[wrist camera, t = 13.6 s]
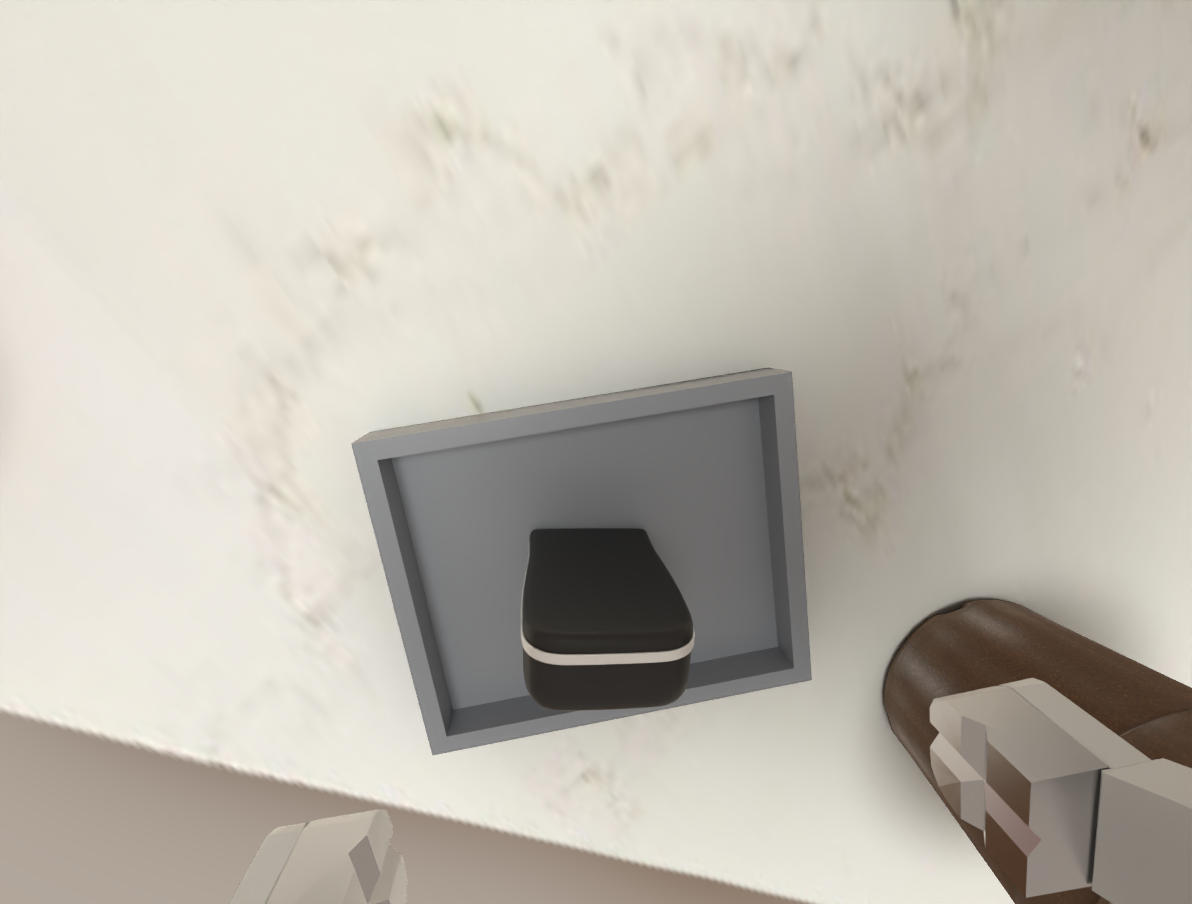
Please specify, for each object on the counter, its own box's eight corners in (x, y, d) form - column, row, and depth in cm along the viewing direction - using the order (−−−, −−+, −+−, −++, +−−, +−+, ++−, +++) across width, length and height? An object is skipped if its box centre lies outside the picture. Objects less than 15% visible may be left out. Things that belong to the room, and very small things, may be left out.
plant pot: (1023, 796, 40) (1340, 1103, 24) (819, 770, 37) (1020, 1091, 22) (1116, 591, 36) (1551, 791, 21) (898, 549, 34) (1202, 737, 18)
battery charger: (525, 589, 31) (517, 733, 20) (525, 526, 30) (517, 640, 19) (646, 587, 32) (702, 725, 21) (649, 525, 31) (709, 634, 20)
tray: (767, 367, 31) (791, 372, 28) (788, 650, 35) (811, 679, 32) (370, 432, 29) (351, 443, 26) (441, 718, 34) (432, 755, 31)
